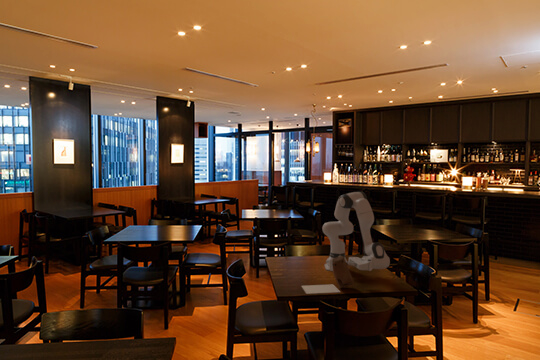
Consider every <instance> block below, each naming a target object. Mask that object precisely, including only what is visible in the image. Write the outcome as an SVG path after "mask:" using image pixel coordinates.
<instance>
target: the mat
mask: <svg viewBox="0 0 540 360" xmlns="http://www.w3.org/2000/svg"><path fill="white" fill-rule="evenodd" d="M301 288H302V290H303V291H304V293H305V294H307V295H313V294H316V295H317V294H330V293H331V294H334V293H338V294H339V293H341V291H340V290H339V288H338V287H336V286H335V285H334V284H333V283H332V284H331V283H330V284H313V285H301Z"/></svg>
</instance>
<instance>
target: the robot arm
mask: <svg viewBox="0 0 540 360" xmlns="http://www.w3.org/2000/svg"><path fill="white" fill-rule="evenodd" d="M352 208H353V209H354V210H355V212H356V217H357V219H358V223H359V228H360V233H361V235H360V236H361V238H362V242H363V243H362V245H363V250H362V251H363V256H362V257H357V256H349V257H348V259H347V258H346V252H345V251H346V249H345V247H346V244H345V242H344V241H343V240H342V239H340V238H339V236H347V235H350V234H352V233H353V232H354V225H353V223H352V222H351V221H350V219H349V216H350V211H351V209H352ZM333 214H334V217H335V219H336V220H338V221H328V222H324V224H323V225H322V227H321V229H322V233H323V234H324V235H325V236H326V237H327V239H328V240H329V242H330V252H329V257H327V259H326V260H325V263H324V268H325V270H326V271H330V272H333V265H332V260H333V259H334V258H336V257H340V256H343V257H344V259H345V261H346V263H347V266H353V267H354V268H356V269H358V270H360V271H369V272H371V271H372V270H373V269H374V270H383V269H384V270H385V269H387V268H389V266H390V263H391V259H390V256H388V254H387V253H386V250H385V247H384V245H383V244H382V243H381V242H379V241H376V242H373V240H372V239H373V238H372V235H371V227H372V225H374V222H375V215H374V212H373V209H372V207H371V204H370V202H369V201H368V196H367V193H365V192H363V191H353V192H352V191H351V192H348V193H344V194H342V195H340V196H339V197H338V199H337V201H336V205H335V210H334V213H333Z"/></svg>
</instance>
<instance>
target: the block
mask: <svg viewBox="0 0 540 360" xmlns="http://www.w3.org/2000/svg"><path fill="white" fill-rule="evenodd" d="M332 265H333V271H332V273H333V275H334V279H335V282H336V284H337V286H338V289H345V288H348V287H351V286H353V285H354V279H353V277H352V273H351V271H350V267H349V265H347V263H346V261H345V259H344V257H343V256H340V257H336V258H334V259H333V260H332Z"/></svg>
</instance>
